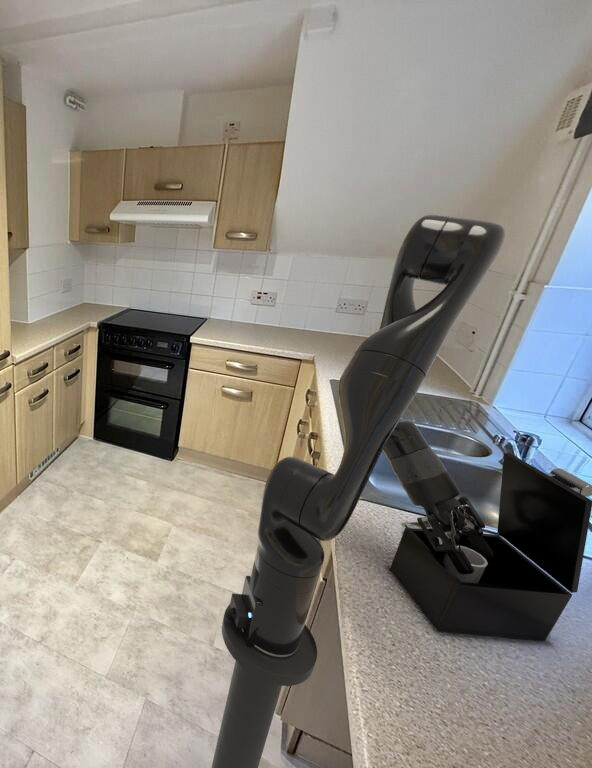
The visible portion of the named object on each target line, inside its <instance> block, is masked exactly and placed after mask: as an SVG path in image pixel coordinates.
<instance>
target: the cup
mask: <svg viewBox="0 0 592 768" xmlns="http://www.w3.org/2000/svg"><path fill="white" fill-rule="evenodd" d="M460 547H461V550H463V552H464V554H465V555H466V557H467V559H468V560H469V562H470V563H471V565H472V567H473V568H474V570H475V571H474V572H473V573H472V574H460V573H459V572H458V571H457V569H456V568H455V566H454V564H453V563H452V561H451V559H450V558H449V556H448V555H447V553H446V555H445V557H444V559H443V563H444V564H445V565H446V566H447V567H448V568H449V569H450V571H451V572H452V573H453V574H454V575H455V576H456V577H457V578H458V579H459V580H460V581H461V582H469V583H479V581H480V579H481V577H482V575H483V573H484V571H485V569H486V567H487V565H488V563H487V560H486V559H485V558H484V557H483V556H482V555H481V554H479V553H477V552H476V551H474V550H472V549H469V548H467V547H464V546H460Z"/></svg>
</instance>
